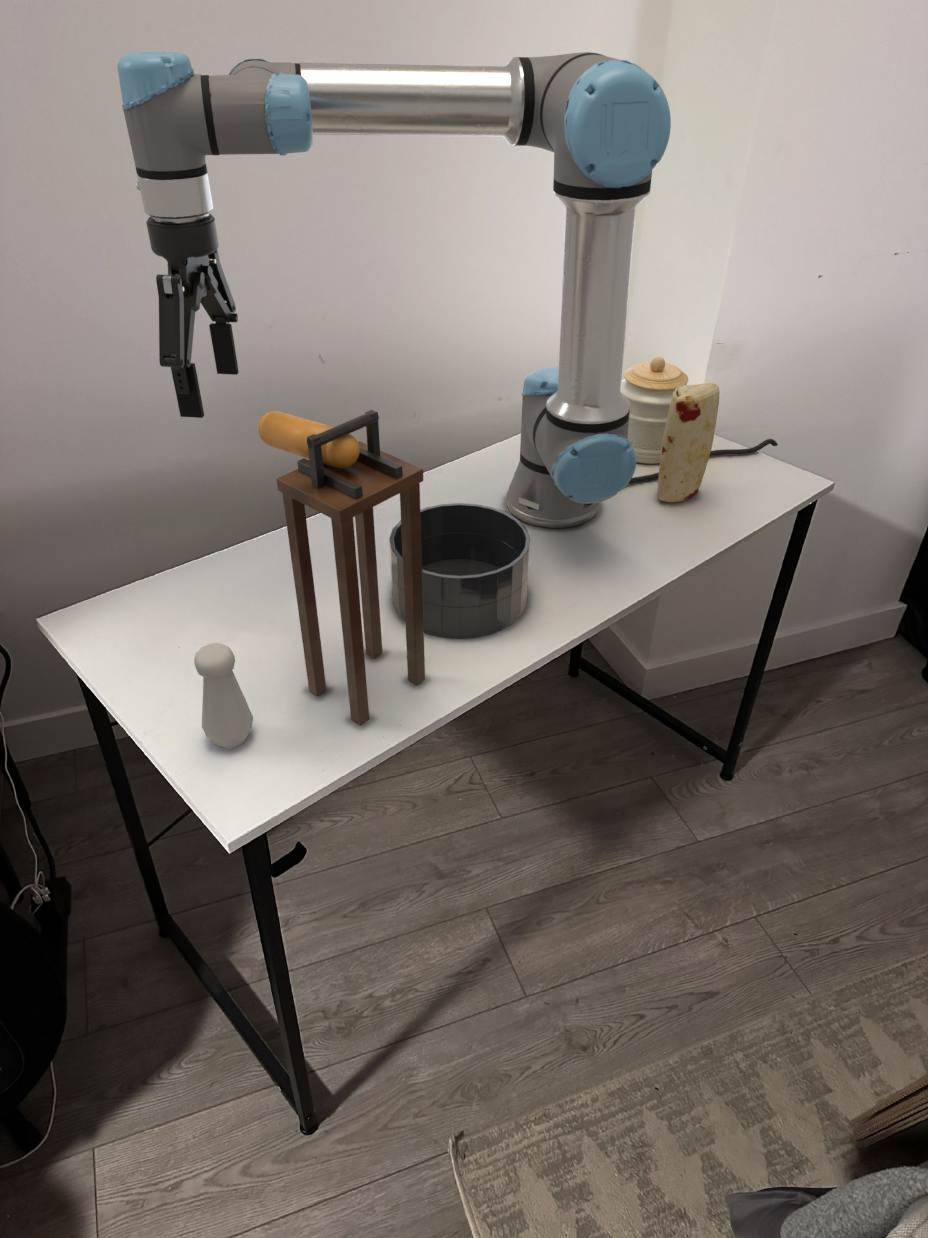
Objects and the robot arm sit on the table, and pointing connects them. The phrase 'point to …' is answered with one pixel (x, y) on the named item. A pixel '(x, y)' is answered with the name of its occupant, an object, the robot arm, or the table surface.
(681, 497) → the food model
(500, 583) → the pot
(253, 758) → the table surface
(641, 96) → the robot arm
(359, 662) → the shelf stand
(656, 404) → the jar
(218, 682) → the salt shaker
